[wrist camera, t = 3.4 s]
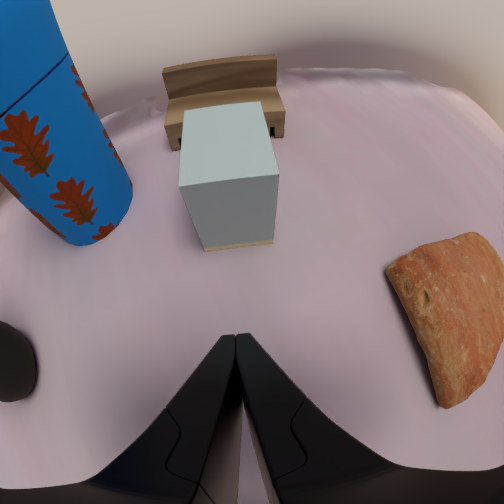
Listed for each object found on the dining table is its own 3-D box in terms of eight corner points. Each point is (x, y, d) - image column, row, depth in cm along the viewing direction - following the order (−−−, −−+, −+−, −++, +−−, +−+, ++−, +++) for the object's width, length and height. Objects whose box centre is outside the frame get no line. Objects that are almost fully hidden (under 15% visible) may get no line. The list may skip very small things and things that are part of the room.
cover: (273, 243, 24) (279, 174, 16) (205, 252, 24) (178, 186, 16) (254, 143, 30) (252, 74, 21) (202, 149, 29) (187, 82, 21)
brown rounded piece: (541, 328, 14) (449, 417, 14) (507, 331, 20) (418, 401, 20) (500, 199, 18) (399, 254, 18) (470, 220, 24) (374, 270, 24)
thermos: (148, 209, 26) (38, -30, 3) (68, 266, 24) (-96, 95, 1) (118, 155, 30) (45, -17, 7) (53, 201, 27) (-50, 57, 5)
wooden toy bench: (283, 137, 30) (287, 80, 22) (172, 151, 29) (154, 96, 22) (273, 105, 33) (274, 54, 25) (176, 116, 32) (163, 68, 25)
